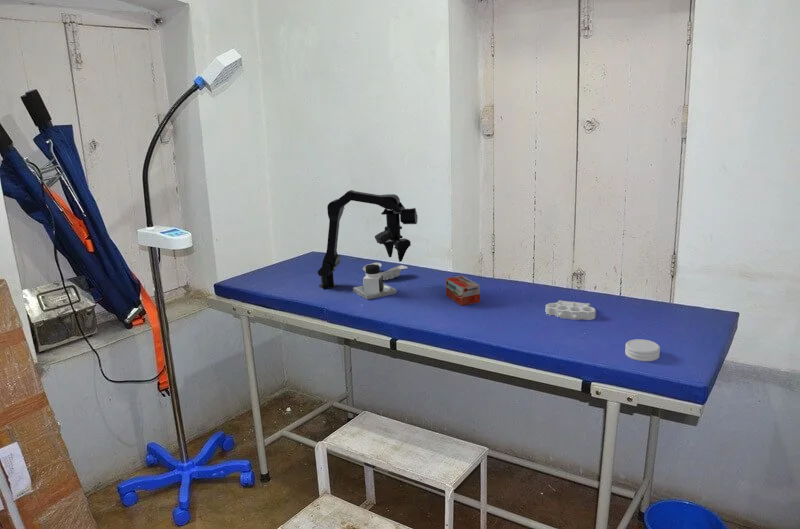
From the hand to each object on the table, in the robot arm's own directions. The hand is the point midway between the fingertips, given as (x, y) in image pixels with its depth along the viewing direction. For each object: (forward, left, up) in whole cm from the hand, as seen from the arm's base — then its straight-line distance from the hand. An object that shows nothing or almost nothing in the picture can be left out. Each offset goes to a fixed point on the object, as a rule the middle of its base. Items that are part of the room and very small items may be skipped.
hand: (395, 259), depth 258 cm
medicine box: (+30, +14, -13) cm, 36 cm away
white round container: (+107, +28, -14) cm, 111 cm away
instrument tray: (0, -11, -13) cm, 17 cm away
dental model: (-19, +2, -14) cm, 23 cm away
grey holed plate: (+68, +37, -14) cm, 78 cm away
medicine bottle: (0, -11, -13) cm, 17 cm away
